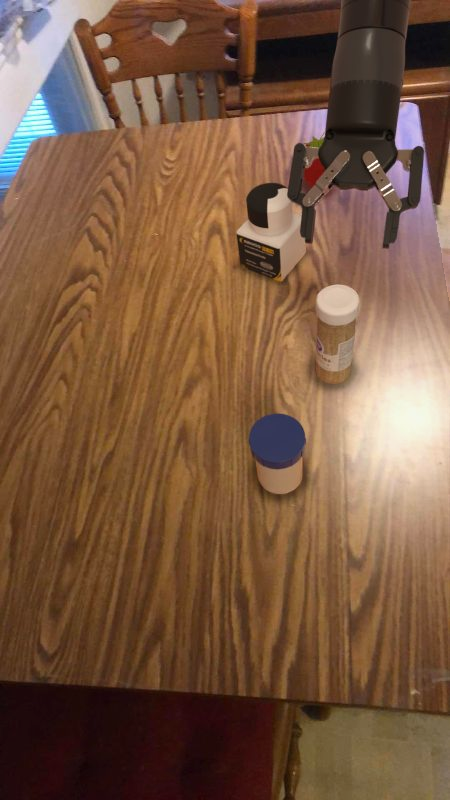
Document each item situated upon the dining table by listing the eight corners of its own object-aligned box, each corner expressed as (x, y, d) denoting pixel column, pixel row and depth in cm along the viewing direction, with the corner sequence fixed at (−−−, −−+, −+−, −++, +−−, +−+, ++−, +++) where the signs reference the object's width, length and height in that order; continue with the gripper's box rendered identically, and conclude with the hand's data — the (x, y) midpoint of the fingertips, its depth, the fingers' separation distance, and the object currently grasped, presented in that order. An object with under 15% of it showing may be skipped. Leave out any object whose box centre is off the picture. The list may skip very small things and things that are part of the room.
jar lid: (296, 416, 59) (296, 407, 58) (312, 462, 56) (312, 454, 55) (244, 428, 59) (243, 420, 58) (257, 475, 56) (256, 468, 55)
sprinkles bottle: (307, 371, 71) (307, 295, 60) (335, 354, 72) (340, 276, 61) (330, 395, 69) (334, 320, 58) (359, 376, 70) (369, 299, 59)
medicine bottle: (239, 270, 83) (230, 201, 74) (266, 241, 86) (260, 170, 76) (281, 286, 80) (277, 216, 71) (306, 255, 83) (306, 184, 74)
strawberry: (331, 174, 94) (333, 115, 85) (340, 202, 89) (344, 143, 81) (295, 180, 94) (294, 122, 86) (303, 208, 90) (302, 149, 81)
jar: (295, 452, 65) (294, 413, 58) (308, 491, 62) (308, 454, 55) (253, 463, 65) (247, 424, 58) (264, 501, 62) (258, 466, 55)
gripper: (294, 76, 58) (279, 238, 62) (439, 75, 55) (415, 247, 58) (302, 100, 66) (288, 244, 69) (431, 100, 62) (410, 252, 66)
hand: (346, 245), depth 64 cm, fingers open, 8 cm apart
